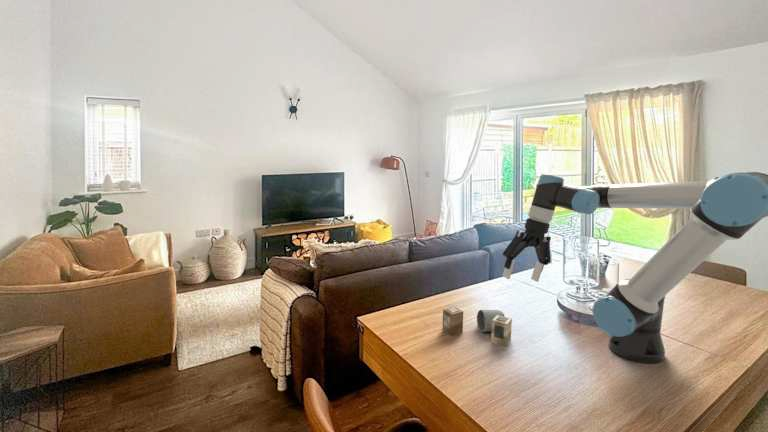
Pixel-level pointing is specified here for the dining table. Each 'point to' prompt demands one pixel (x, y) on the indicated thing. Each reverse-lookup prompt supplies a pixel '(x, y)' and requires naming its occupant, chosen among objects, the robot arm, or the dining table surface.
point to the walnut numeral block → (452, 321)
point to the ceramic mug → (487, 319)
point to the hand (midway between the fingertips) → (520, 279)
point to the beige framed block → (501, 330)
